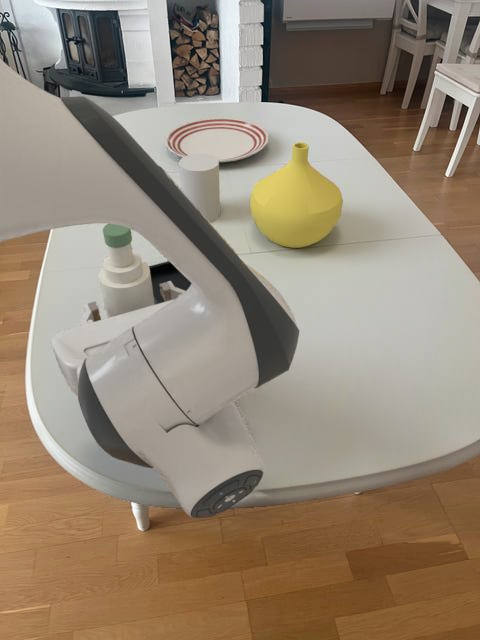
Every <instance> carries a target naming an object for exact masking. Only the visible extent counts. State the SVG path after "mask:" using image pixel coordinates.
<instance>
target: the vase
mask: <svg viewBox="0 0 480 640" xmlns="http://www.w3.org/2000/svg"><path fill="white" fill-rule="evenodd" d="M309 147H310V145H309V144H308V143H306V142H298V141H297V142H295V143H293V144H292V148H291V149H292V151H291V159H290V161H289V162H288V163H287V164H286V165H284V166H283V167H280V168H279V169H278V170H276V171H274V172H273V173H271V174H269V175H267V176H264V177H263V178H261V179H260V180H258V181H257V182H256V183H255V184H254V186H253V188H252V191H251V193H250V195H249V209H250V213H251V216H252V218H253V221H254V223H255V225H256V227H257V228H258V229H259V231H260V232H261V234H263V235H264V237H265V238H267V239H268V240H269V241H271V242H272V243H275V244H277V245H279V246H281V247H285V248H292V249H297V248H299V249H300V248H306V247H308V246H311V245H314V244H316V243H318V242H320V241H321V240H323V239H324V238H325V237H326V236H328V235H329V234H330V233H331V231H332V230H333V229H334V227H335V225H336V224H337V222H338V221H339V220H340V218H341V215H342V210H343V204H344V199H343V194H342V192H341V190H340V187H338V186H337V184H335V183H334V182H333V181H332V180H331V179H329V178H328V177H326V176H325V175H323V174H322V173H321V172H320V171H319V170H317V169H316V168H315V167H313V166H312V165H311V163H310V162H309V159H308V158H309V150H310V149H309Z"/></svg>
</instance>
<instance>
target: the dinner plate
mask: <svg viewBox="0 0 480 640" xmlns="http://www.w3.org/2000/svg"><path fill="white" fill-rule="evenodd" d="M269 137H270V136H269V134H268V132H267V130H266V129H265V128H264V127H262V126H260V125H259V124H257V123H254V122H251V121H249V120H244V119H239V118H231V117H212V118H211V117H209V118H203V119H197V120H193V121H189V122H186V123H183V124H180V125H179V126H176V127H174V128H173V129H172V130H171V131H170V132H168V133H167V135H166V137H165V142H164V143H165V146H166V148H167V149H168V151H170V152H171V153H172V154H174V155H176V156H178V157H180V158H183V157H185V156H188V155H191V154H208V155H212V156H214V157H216V158H217V159H218V160H219V164H220V163H229V162H235V161H240V160H243V159H247V158H249V157H252V156H254V155H256V154H257V153H259V152H261V151H262V150H263V149H264V148H265V147H266V146H267V145H268V143H269V140H270V139H269Z"/></svg>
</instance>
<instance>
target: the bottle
mask: <svg viewBox="0 0 480 640" xmlns="http://www.w3.org/2000/svg"><path fill="white" fill-rule="evenodd" d="M102 234H103V238H104V243H105V245H106V246H107V250H108V255H107V256H106V257H105V258H104V259H103V262H102V267H101V268H100V269H99V271H98V274H97V275H98V282H99V284H100V291H101V294H102V299H103V304H104V309H105V313H106V317H107V318H110V317H114V316H117V315H121V314H124V313H128V312H131V311H135V310H138V309H142V308H145V307H149V306H152V305H155V303H154V296H153V289H152V281H151V274H150V268H149V266H150V265H148V264H147V263H146V262H145V261H144V260H143V259H142V257H141V255H140V254H138V253H137V252H135V251H133V247H132V241H133V236H132V229H130V228H127V227H124V226H120V225H115V224H105V225H104V227H103V228H102ZM107 318H106V319H107Z"/></svg>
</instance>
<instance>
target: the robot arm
mask: <svg viewBox="0 0 480 640" xmlns="http://www.w3.org/2000/svg"><path fill="white" fill-rule="evenodd" d="M93 224H101V225H102V224H103V225H107V224H115V225H120V226H124V227H127V228H130V229H131V231H134V232H136V233H137V234H139V235H141V237H143V238H144V239H145V240H146V241H148V243H150V244H151V245H152V246H153V247H154V248H155V249H156V250H157V251H158V253H160V254H161V255H162V257H164V258H165V259H166V260H167V261H169V262H170V263H171V264H173V265H174V266H175V267H176V268H177V269H178V270H179V271H180V272H181V273H182V274H183V275H184V276H185V277H186V278H187V279H188V280H189V281H190V282H191V283H192V284H191V285H190V287H189V288H188V289H187V291H185V290H182V289H179V288H177V287H174V285H173V283H172V282H171V281H168V282H165V283H161V284H159V286H160V288H161V289H160V293H161V295H162V297H163V299H164V301H166V302H163V303H159V304H156V305H152V306H149V307H145V308H142V309H138V310H135V311H131V312H128V313H124V314H121V315H117V316H114V317H110V318H103V319H102V317H101V314H100V309H99V306H98V304H97V301H92V302H87V303H84V304H83V305H82V306H83V309H84V313H83V316H82V318H80V319H81V320H80V321H79V326H75V327H72V328H68V329H64V330H62V331H58V332H56V334H55V335H53V337H52V339H51V340H50V344H51V347H52V351H53V353H54V357H55V360H56V362H57V364H58V368H59V370H60V372H61V374H62V376H63V379H64V381H65V382H66V385H68V387H69V389H70V391H71V392H72V393H73V394H74V395H75V396H77V401H78V404H79V408H80V411H81V413H82V416H83V418H84V421H85V424H86V426H87V427H88V430H89V432H90V434H91V435H92V438H93V439H94V441H95V442H96V443H97V445H98V446H99V447H100V448H101V449H102V450H103V451H104V452H105V453H107V455H109V456H110V457H112V458H113V459H116V460H118V461H122V462H125V463H128V464H132V465H136V466H138V467H143V468H147V469H148V468H149V469H155V470H156V471H157V473H158V474H159V475H160V476H161V477H162V479H163V480H164V482H165V483H166V485H167V486H168V487H169V490H170V491H171V493H172V494H173V496H174V497H175V499H176V501H177V503H178V504H179V505H180V507H181V509H182V511H183V512H184V513H185V514H186V515H187V516H189V517H190V518H192V519H206V518H212V517H214V516H216V515H218V514H221V513H224V512H225V511H227V510H229V509H230V508H232V507H234V506H235V505H236V504H238V503H239V502H241V501H242V500H244V499H245V498H247V497H248V496H249V495H250V494H252V493H253V492H254V490H255V489H256V488H257V487H258V485H259V484H260V482H261V480H262V479H263V476H264V474H265V473H264V472H265V470H264V466H263V462H262V459H261V457H260V454H259V451H258V448H257V446H256V444H255V441H254V438H253V436H252V434H251V432H250V430H249V428H248V426H247V424H246V422H245V419H244V418H243V416H242V414H241V413H240V410H239V409H238V407H237V405H236V403H235V401H237V400H238V399H240V398H241V397H243V396H244V395H246V394H247V393H249V392H250V391H252V390H253V389H258V388H260V387H261V386H263V385H266V384H267V383H268V382H270V381H272V380H274V379H276V378H278V377H279V376H281V375H283V374H285V373H287V372H289V370H290V368H291V365H292V364H293V360H294V357H295V354H296V351H297V347H298V343H299V338H300V329H299V326H298V323H297V320H296V317H295V314H294V312H293V310H292V308H291V307H290V305H289V304H288V302H287V301H286V299H285V298H284V296H283V295H282V294H281V292H280V291H279V290H278V289H277V288H276V286H274V284H272V283H271V282H270V281H269V280H268V279H267V278H266V277H264V276H263V275H262V274H261V273H260V272H258V271H257V270H255V269H254V268H252V267H251V266H250V265H249V264H247V263H246V262H245V261H243V260H242V258H240V256H239V254H238V253H237V252H236V251H235V250H236V249H234V248H233V247H232V246H231V244H230V243H229V242H228V241H227V240H226V238H225V237H224V236H222V234H221V233H220V232H219V231H218V229H216V227H215V226H214V225H213V224H212V222H209V221H208V219H207V218H206V217H205V216H204V215H203V214H202V213H201V211H200V210H198V208H197V207H196V205H195V204H194V203H193V202H192V201H191V200H190V199H189V197H187V195H185V193H184V192H183V191H182V189H181V187H180V186H179V185H178V184H177V183H176V181H175V180H174V179H173V178H172V177H171V176H170V175H169V174H168V172H167V171H166V170H165V169H164V168H163V167H161V166H160V165H158V164H157V162H156V161H155V160H154V159H153V158H152V157H151V156H150V155H149V154H148V153H147V152H146V150H145V149H144V148H143V147H142V146H141V145H140V144H139V143H138V141H137V140H136V139H135V138H134V137H133V136H132V135H131V134H130V132H129V131H127V129H126V128H125V127H124V126H123V125H122V124H121V123H120V122H119V121H118V120H117V119H116V118H115V117H114V116H112V115H111V114H110V113H109V112H108V111H107V110H105V109H104V108H102V107H101V106H100V105H99V104H97V103H95V102H94V101H93V100H91V99H90V98H88V97H86V96H84V95H83V96H61V97H58V96H56V95H54V94H52V93H50V92H48V91H46V90H45V89H42V88H40V87H39V86H37V85H36V84H33V83H32V82H31V81H29V80H27V79H26V78H24V77H23V76H22V75H20V74H19V73H18V72H16V71H15V70H14V69H12V68H11V67H10V66H9V65H8V64H7V63H6V62H5V61H4V60H3V59H1V58H0V243H3V242H6V241H10V240H14V239H16V238H17V239H18V238H21V237H25V236H27V235H28V236H29V235H33V234H36V233H37V234H38V233H41V232H46V231H50V230H54V229H55V230H56V229H60V228H66V227H67V228H68V227H74V226H81V225H93ZM169 300H170V301H169Z"/></svg>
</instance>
